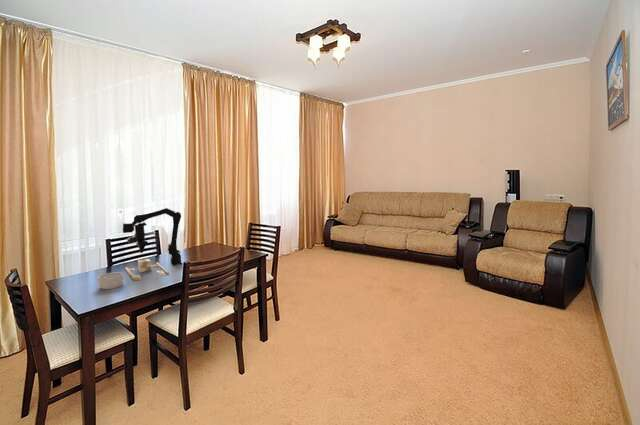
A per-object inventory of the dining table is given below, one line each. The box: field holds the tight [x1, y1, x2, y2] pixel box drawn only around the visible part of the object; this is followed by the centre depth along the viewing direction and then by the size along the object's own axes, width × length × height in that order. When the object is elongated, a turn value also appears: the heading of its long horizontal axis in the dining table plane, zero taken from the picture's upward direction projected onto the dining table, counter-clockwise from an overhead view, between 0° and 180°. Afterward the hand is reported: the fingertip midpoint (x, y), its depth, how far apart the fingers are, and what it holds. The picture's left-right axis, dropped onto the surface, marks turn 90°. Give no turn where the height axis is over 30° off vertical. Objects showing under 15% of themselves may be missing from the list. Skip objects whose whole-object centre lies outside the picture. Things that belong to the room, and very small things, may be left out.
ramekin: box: [97, 271, 124, 290], centre depth 203 cm, size 13×13×7 cm
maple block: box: [137, 258, 152, 273], centre depth 236 cm, size 7×7×7 cm
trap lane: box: [125, 261, 170, 282], centre depth 232 cm, size 21×32×2 cm, turn 38°
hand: (141, 253), depth 241 cm, fingers closed
